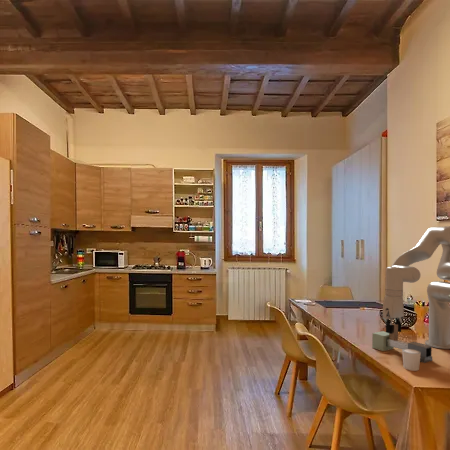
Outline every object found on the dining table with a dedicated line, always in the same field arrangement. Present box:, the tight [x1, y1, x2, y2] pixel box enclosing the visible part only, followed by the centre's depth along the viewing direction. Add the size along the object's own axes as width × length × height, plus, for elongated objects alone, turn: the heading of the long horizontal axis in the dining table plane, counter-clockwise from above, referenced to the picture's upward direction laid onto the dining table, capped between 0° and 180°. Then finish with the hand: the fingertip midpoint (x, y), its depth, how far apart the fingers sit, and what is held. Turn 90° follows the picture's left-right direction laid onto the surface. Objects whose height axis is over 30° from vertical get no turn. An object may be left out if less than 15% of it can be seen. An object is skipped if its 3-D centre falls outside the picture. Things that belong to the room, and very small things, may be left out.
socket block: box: [371, 330, 395, 352], centre depth 184 cm, size 8×6×7 cm
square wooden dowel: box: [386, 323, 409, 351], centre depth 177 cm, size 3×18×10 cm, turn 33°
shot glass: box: [401, 349, 421, 372], centre depth 157 cm, size 7×7×7 cm
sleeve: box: [408, 341, 433, 364], centre depth 169 cm, size 6×8×6 cm
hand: (393, 331), depth 180 cm, fingers open, 5 cm apart
